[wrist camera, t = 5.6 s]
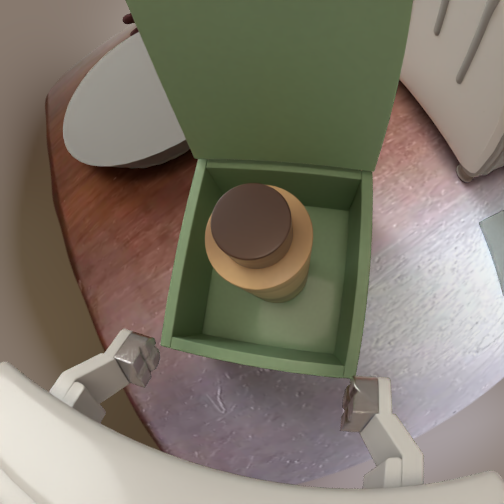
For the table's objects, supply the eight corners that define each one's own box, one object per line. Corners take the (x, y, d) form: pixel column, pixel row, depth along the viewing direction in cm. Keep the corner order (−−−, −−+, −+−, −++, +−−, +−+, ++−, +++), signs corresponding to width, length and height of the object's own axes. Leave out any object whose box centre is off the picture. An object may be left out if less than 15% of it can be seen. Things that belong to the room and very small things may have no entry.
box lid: (417, -43, 4) (390, -52, 6) (115, -23, 7) (159, -42, 8) (374, 172, 17) (369, 125, 19) (194, 159, 20) (211, 116, 22)
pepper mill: (316, 291, 23) (334, 258, 10) (257, 311, 23) (206, 301, 11) (296, 235, 24) (288, 148, 11) (240, 254, 24) (178, 188, 12)
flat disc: (321, 98, 28) (321, 69, 24) (104, 232, 28) (79, 219, 24) (213, 16, 36) (207, -3, 31) (73, 103, 36) (59, 89, 32)
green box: (340, 362, 22) (355, 379, 15) (195, 340, 24) (159, 345, 18) (356, 207, 24) (372, 171, 18) (221, 194, 27) (197, 158, 20)
